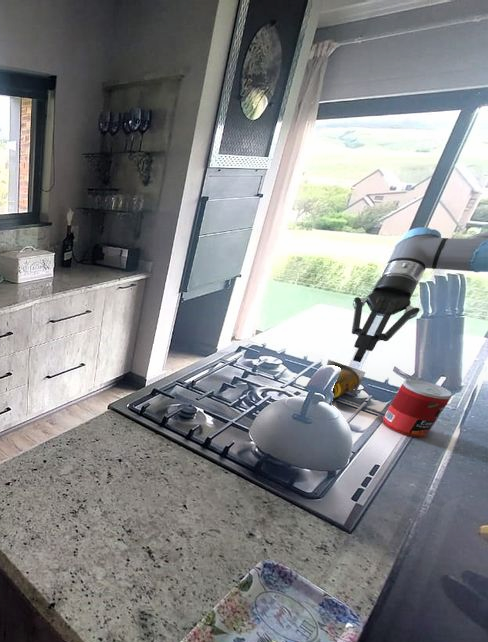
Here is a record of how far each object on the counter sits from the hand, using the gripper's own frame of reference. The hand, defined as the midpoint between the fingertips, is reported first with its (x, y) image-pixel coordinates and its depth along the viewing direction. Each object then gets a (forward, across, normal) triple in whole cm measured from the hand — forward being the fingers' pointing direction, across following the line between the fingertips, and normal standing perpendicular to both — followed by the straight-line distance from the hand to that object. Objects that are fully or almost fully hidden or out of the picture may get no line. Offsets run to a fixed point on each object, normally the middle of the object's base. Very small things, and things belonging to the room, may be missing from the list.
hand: (357, 358), depth 102 cm
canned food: (+13, +13, +4) cm, 19 cm away
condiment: (+2, -1, +9) cm, 9 cm away
